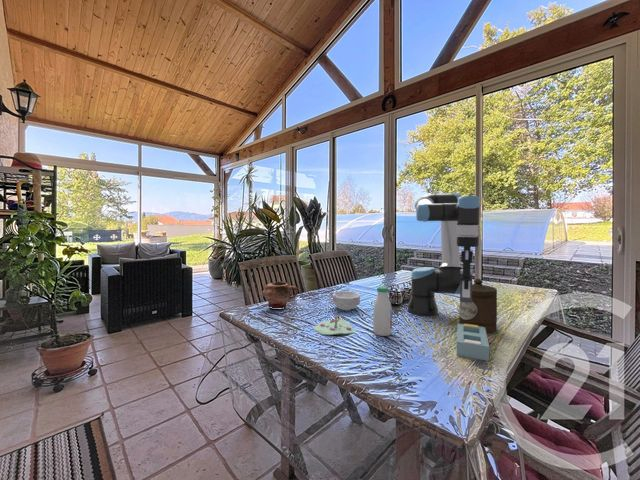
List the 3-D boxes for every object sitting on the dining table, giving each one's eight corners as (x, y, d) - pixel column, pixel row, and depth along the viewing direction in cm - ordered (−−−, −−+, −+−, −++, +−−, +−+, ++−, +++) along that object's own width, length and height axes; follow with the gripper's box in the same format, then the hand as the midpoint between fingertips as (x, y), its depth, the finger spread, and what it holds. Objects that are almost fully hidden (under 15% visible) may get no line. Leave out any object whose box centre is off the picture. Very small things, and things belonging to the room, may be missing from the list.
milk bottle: (388, 338, 118) (388, 290, 117) (370, 334, 122) (370, 288, 121) (394, 331, 125) (394, 286, 123) (377, 328, 129) (377, 284, 127)
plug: (459, 301, 111) (460, 270, 111) (460, 299, 115) (460, 269, 114) (471, 303, 109) (472, 271, 109) (471, 300, 113) (472, 269, 112)
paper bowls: (361, 312, 152) (361, 297, 151) (333, 312, 152) (332, 297, 152) (358, 304, 167) (358, 290, 166) (332, 304, 167) (332, 290, 167)
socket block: (456, 355, 103) (456, 340, 102) (457, 335, 120) (457, 322, 120) (488, 361, 98) (489, 345, 98) (484, 339, 116) (485, 326, 116)
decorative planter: (296, 303, 170) (295, 280, 169) (300, 309, 158) (299, 284, 157) (261, 306, 165) (261, 282, 164) (263, 312, 153) (262, 286, 152)
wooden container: (453, 321, 137) (454, 275, 136) (485, 321, 137) (486, 275, 135) (468, 333, 122) (469, 282, 121) (503, 333, 122) (505, 282, 120)
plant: (314, 317, 146) (314, 300, 145) (355, 317, 145) (355, 300, 145) (312, 337, 121) (311, 316, 120) (361, 337, 120) (361, 316, 120)
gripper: (479, 237, 101) (477, 302, 103) (478, 235, 116) (476, 292, 118) (455, 237, 105) (454, 300, 106) (457, 235, 120) (456, 290, 121)
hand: (466, 295), depth 112 cm, fingers closed on plug, 4 cm apart
